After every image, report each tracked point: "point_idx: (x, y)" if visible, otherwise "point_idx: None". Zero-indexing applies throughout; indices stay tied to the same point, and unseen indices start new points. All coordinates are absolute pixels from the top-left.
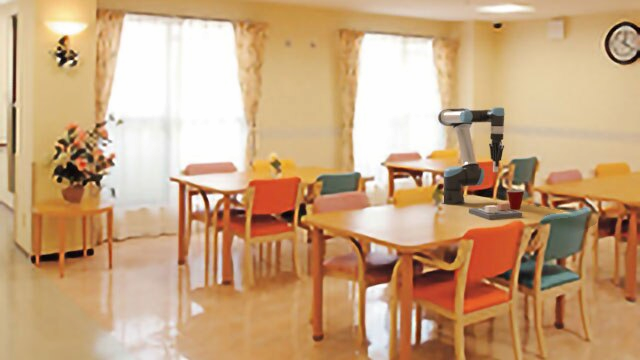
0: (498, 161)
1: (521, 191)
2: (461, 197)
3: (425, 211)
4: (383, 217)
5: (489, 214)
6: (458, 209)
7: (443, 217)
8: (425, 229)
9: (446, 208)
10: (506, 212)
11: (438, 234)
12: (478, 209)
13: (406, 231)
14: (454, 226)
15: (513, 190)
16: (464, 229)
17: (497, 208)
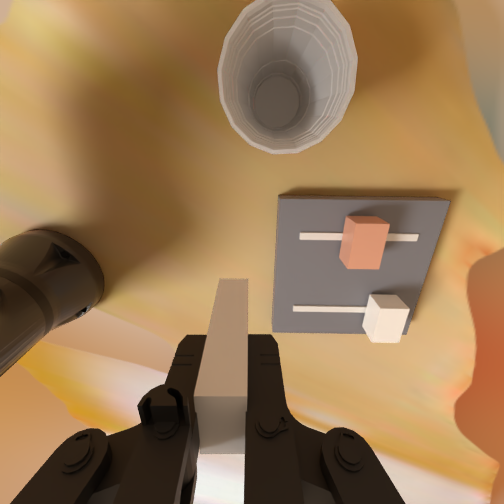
0: (290, 417)
1: (354, 71)
2: (72, 270)
3: None
4: (243, 485)
5: None
6: (201, 319)
7: (301, 402)
8: (396, 472)
9: (172, 342)
10: (404, 256)
11: (450, 472)
12: (299, 311)
13: None
14: (410, 425)
15: (228, 56)
16: (451, 423)
17: (404, 304)
